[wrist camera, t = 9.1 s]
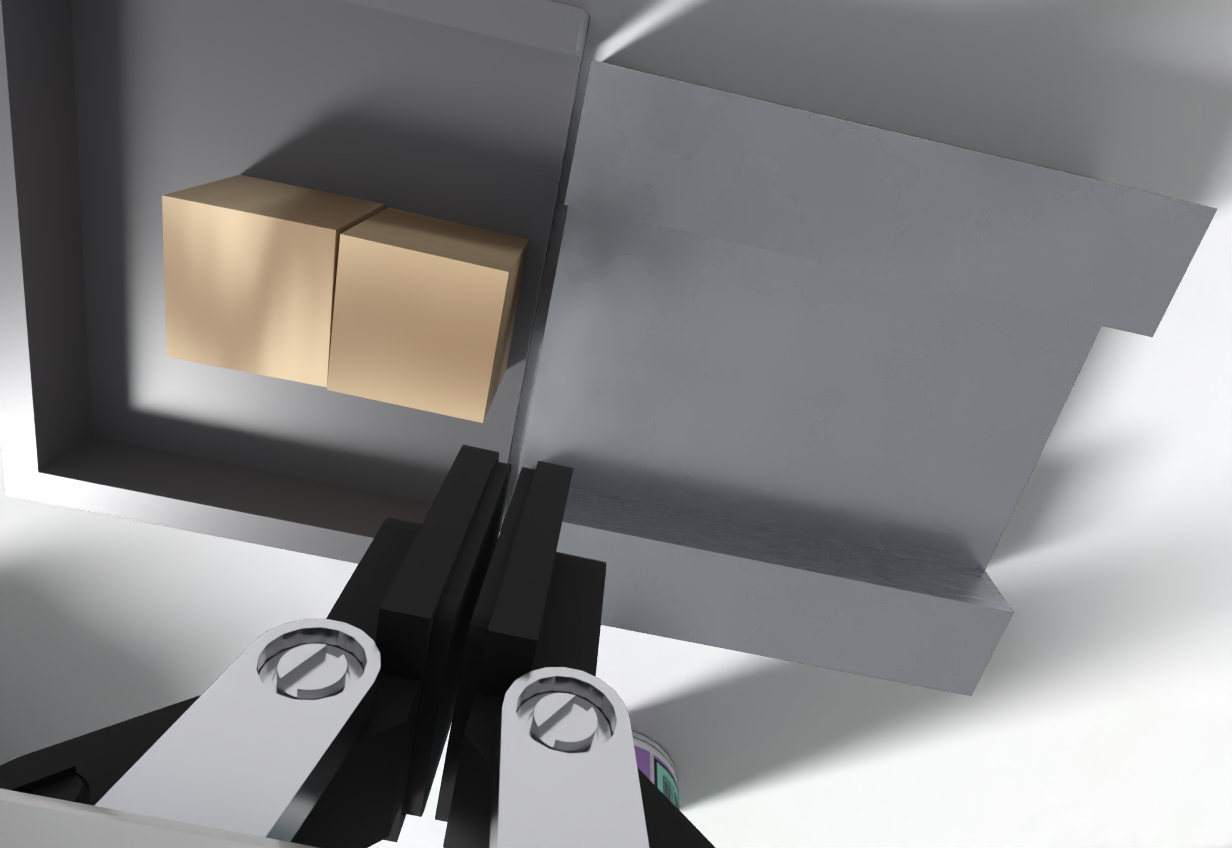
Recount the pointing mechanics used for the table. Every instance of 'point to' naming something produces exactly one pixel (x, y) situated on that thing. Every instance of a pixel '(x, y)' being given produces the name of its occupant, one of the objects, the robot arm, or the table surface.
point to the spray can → (656, 766)
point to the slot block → (819, 368)
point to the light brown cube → (424, 312)
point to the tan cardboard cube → (255, 275)
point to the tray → (271, 150)
